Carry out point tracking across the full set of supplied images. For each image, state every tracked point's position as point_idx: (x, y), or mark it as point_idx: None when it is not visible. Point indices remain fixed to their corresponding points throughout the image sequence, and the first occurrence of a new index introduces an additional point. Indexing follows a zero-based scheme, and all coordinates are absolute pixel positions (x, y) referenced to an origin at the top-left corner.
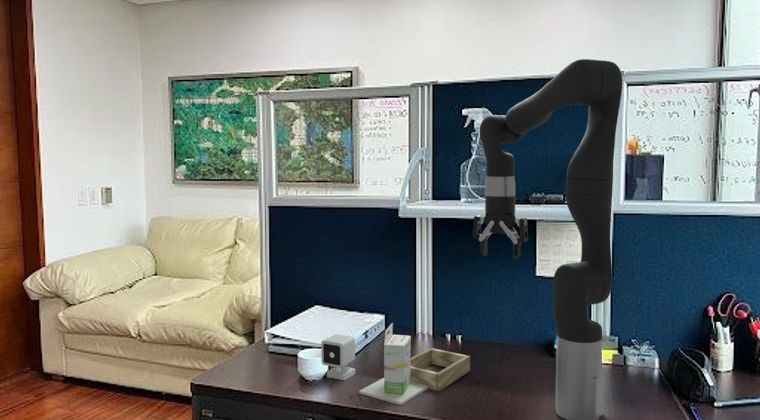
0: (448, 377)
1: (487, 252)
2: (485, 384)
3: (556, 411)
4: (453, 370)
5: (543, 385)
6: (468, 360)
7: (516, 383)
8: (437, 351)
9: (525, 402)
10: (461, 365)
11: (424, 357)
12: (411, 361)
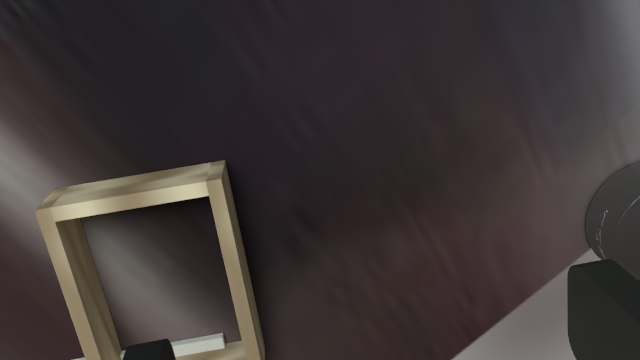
0: (254, 312)
1: (162, 351)
2: (337, 218)
3: (598, 256)
4: (247, 289)
5: (488, 96)
6: (224, 186)
7: (409, 143)
8: (84, 216)
9: (497, 245)
10: (236, 236)
11: (76, 263)
12: (99, 348)
